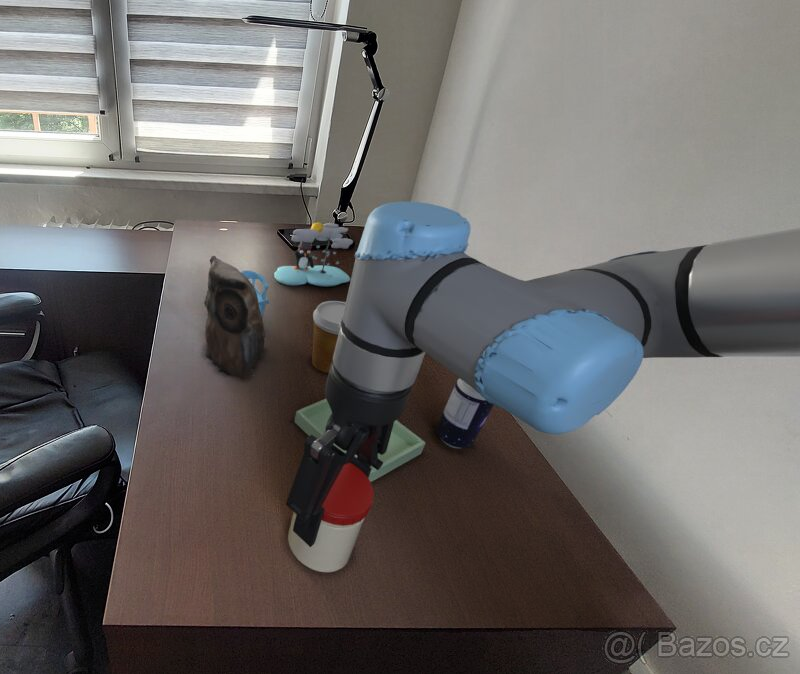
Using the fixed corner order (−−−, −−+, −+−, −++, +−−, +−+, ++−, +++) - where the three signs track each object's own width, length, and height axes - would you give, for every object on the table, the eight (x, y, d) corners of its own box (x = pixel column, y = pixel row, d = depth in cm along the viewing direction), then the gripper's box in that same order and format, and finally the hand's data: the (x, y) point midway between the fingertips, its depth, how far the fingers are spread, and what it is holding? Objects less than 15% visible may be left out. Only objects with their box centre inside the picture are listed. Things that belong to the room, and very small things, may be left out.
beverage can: (473, 456, 72) (504, 399, 65) (434, 445, 74) (460, 388, 67) (469, 431, 76) (498, 375, 70) (433, 422, 78) (457, 367, 71)
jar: (364, 553, 58) (385, 501, 52) (317, 584, 54) (334, 532, 49) (320, 505, 64) (335, 454, 58) (275, 531, 60) (286, 479, 54)
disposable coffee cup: (362, 368, 90) (377, 316, 83) (329, 385, 85) (342, 331, 79) (326, 345, 96) (337, 295, 90) (293, 359, 92) (303, 307, 85)
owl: (247, 385, 85) (258, 289, 73) (185, 367, 89) (187, 274, 77) (266, 349, 94) (278, 260, 83) (210, 334, 98) (214, 247, 87)
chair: (239, 336, 98) (243, 287, 91) (222, 318, 104) (225, 270, 97) (270, 329, 101) (276, 281, 94) (251, 311, 107) (256, 264, 100)
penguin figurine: (276, 288, 117) (284, 232, 108) (270, 270, 126) (277, 216, 117) (353, 290, 117) (367, 234, 109) (342, 271, 126) (354, 218, 118)
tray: (421, 453, 72) (426, 442, 71) (361, 487, 66) (365, 476, 65) (350, 397, 83) (353, 386, 81) (294, 421, 77) (296, 411, 76)
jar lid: (373, 479, 55) (377, 469, 54) (366, 537, 49) (370, 527, 48) (306, 458, 58) (308, 448, 57) (290, 510, 52) (293, 500, 51)
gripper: (395, 319, 51) (352, 457, 64) (265, 394, 40) (244, 543, 53) (462, 350, 46) (400, 492, 59) (336, 445, 35) (293, 595, 48)
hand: (327, 516), depth 56 cm, fingers closed on jar lid, 8 cm apart
